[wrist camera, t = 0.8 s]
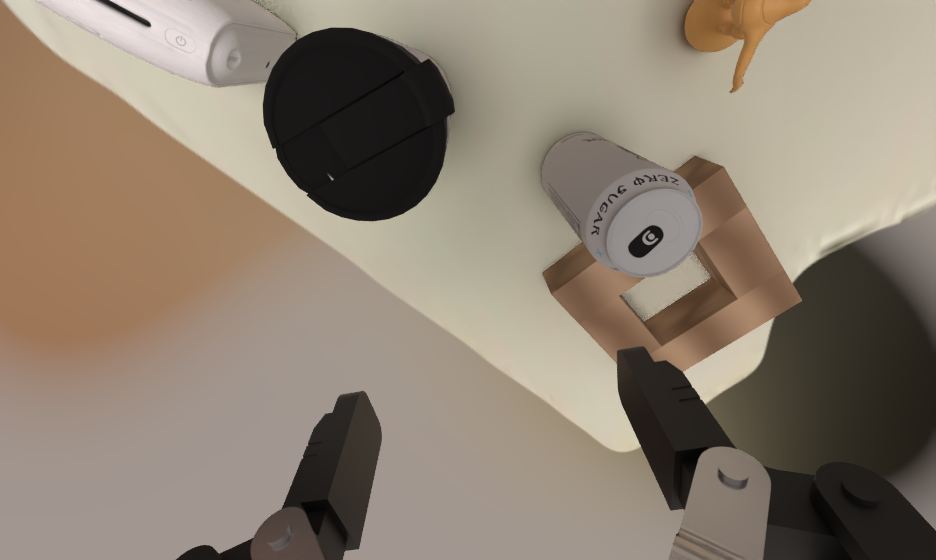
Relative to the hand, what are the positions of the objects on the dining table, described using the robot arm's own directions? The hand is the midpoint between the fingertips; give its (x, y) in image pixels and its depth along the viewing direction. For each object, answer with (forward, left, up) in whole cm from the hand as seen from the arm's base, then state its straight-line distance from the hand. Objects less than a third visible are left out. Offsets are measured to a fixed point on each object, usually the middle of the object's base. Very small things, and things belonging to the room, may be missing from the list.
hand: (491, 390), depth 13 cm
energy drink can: (-8, +5, -24) cm, 26 cm away
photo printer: (+4, -20, -24) cm, 32 cm away
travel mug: (-2, -8, -24) cm, 26 cm away
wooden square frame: (-8, +19, -24) cm, 32 cm away
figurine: (-20, +2, -24) cm, 31 cm away
